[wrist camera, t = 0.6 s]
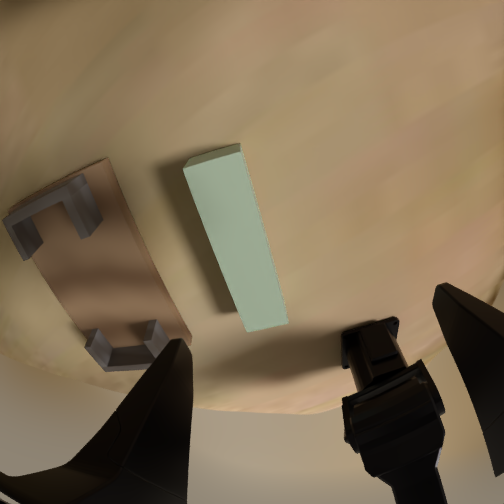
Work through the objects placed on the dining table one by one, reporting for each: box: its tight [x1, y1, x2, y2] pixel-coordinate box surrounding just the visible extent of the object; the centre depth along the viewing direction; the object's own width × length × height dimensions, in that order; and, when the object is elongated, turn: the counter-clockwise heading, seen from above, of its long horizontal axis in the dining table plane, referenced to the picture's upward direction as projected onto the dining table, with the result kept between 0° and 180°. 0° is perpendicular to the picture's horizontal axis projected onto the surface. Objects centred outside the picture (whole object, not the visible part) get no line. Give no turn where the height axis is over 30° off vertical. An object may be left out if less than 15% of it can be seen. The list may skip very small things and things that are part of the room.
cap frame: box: [2, 158, 192, 372], centre depth 21 cm, size 18×11×4 cm, turn 14°
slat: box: [183, 143, 289, 332], centre depth 21 cm, size 14×4×3 cm, turn 15°
